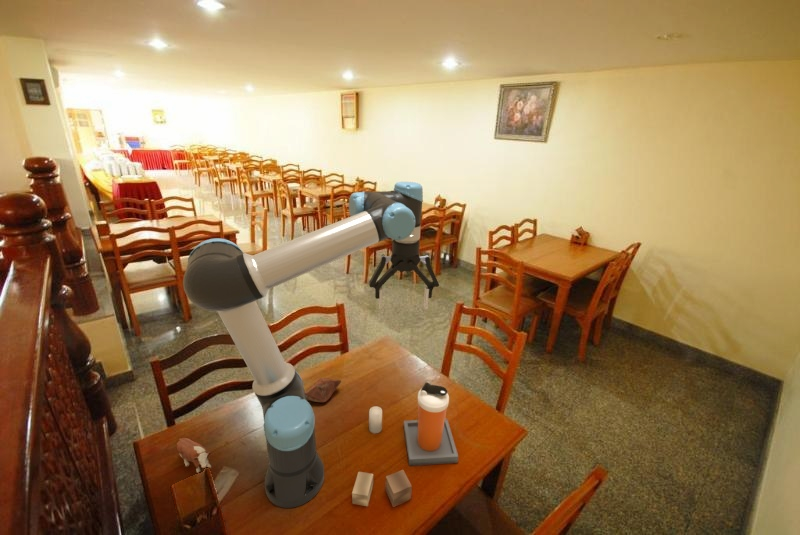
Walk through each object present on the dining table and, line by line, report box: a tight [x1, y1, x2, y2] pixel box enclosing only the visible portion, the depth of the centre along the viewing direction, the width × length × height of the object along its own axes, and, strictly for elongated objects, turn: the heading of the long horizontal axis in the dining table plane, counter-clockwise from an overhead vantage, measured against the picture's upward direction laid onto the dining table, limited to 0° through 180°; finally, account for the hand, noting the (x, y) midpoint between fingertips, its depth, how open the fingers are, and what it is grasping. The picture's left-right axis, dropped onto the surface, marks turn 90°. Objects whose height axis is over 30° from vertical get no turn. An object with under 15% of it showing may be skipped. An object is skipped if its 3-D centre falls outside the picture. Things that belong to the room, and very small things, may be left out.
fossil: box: [305, 377, 342, 403], centre depth 121 cm, size 13×8×10 cm
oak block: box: [351, 471, 374, 507], centre depth 90 cm, size 4×6×4 cm, turn 171°
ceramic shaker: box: [368, 406, 383, 434], centre depth 110 cm, size 4×4×7 cm
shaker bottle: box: [417, 381, 450, 451], centre depth 102 cm, size 9×9×20 cm
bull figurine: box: [176, 437, 213, 474], centre depth 95 cm, size 4×13×8 cm, turn 58°
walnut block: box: [384, 469, 413, 508], centre depth 90 cm, size 5×5×5 cm
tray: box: [403, 418, 459, 467], centre depth 106 cm, size 14×14×2 cm
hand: (403, 307), depth 105 cm, fingers open, 13 cm apart
